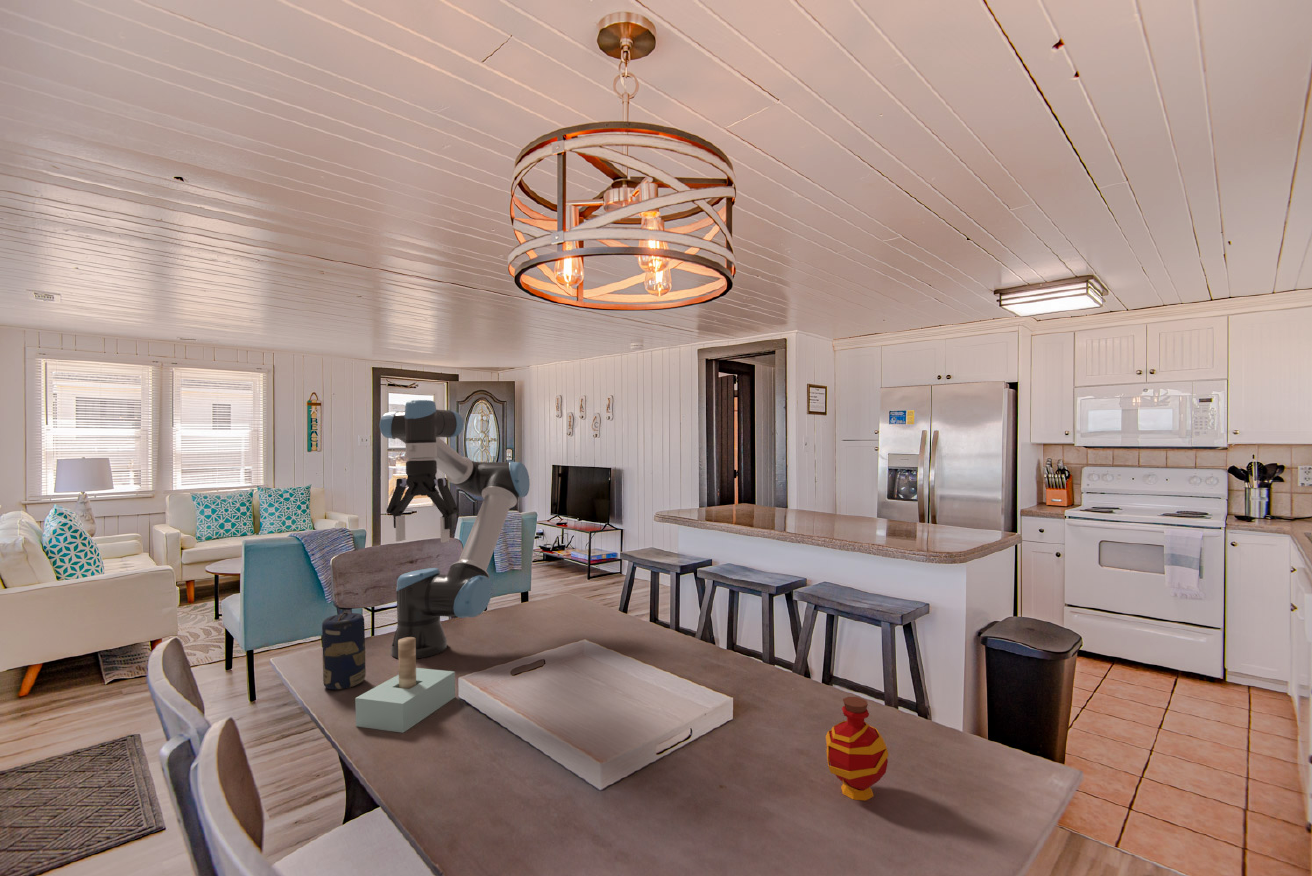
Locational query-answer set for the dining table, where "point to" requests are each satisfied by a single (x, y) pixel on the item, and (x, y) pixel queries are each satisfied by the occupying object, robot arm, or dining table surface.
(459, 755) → the dining table surface
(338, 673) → the canister
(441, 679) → the socket block
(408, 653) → the peg
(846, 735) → the potion bottle
